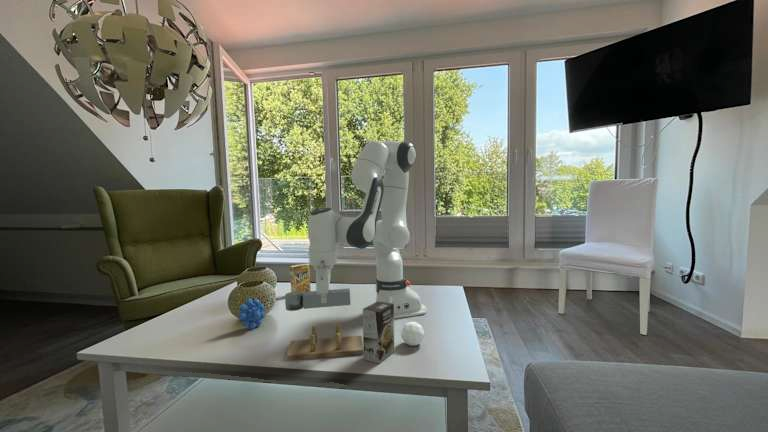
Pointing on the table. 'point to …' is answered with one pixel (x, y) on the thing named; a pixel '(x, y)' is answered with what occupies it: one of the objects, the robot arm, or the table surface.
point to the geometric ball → (412, 333)
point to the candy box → (300, 278)
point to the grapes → (251, 313)
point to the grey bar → (316, 299)
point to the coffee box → (378, 331)
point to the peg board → (325, 346)
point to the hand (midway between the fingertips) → (324, 300)
